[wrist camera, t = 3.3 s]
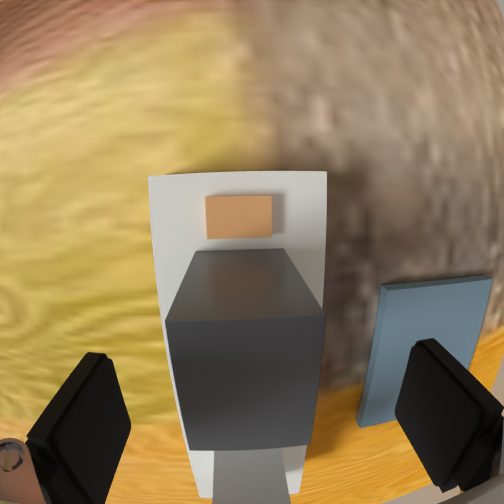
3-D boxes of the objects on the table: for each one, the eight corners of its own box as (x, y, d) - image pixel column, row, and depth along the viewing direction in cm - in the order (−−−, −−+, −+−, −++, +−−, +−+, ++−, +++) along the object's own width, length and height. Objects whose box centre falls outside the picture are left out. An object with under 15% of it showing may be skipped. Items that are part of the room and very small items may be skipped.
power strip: (164, 175, 17) (144, 176, 13) (308, 171, 17) (330, 171, 13) (202, 467, 23) (199, 503, 19) (292, 463, 23) (299, 498, 19)
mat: (380, 285, 19) (387, 290, 18) (484, 274, 20) (492, 278, 19) (355, 420, 22) (359, 427, 21) (450, 395, 23) (455, 401, 22)
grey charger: (215, 421, 19) (211, 528, 10) (275, 419, 19) (294, 524, 11) (221, 463, 20) (221, 555, 12) (273, 461, 20) (287, 551, 12)
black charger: (198, 244, 16) (164, 321, 7) (279, 241, 16) (325, 314, 8) (205, 333, 17) (189, 450, 9) (278, 330, 17) (310, 444, 9)
